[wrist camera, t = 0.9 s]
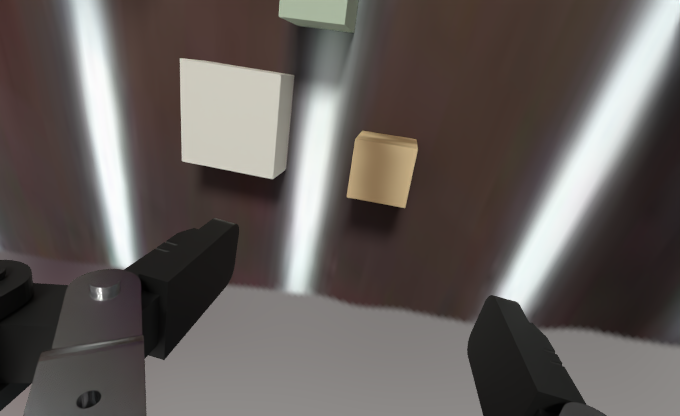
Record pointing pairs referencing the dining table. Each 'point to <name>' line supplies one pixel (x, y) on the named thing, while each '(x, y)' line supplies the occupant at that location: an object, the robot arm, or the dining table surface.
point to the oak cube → (382, 168)
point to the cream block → (235, 117)
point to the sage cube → (321, 13)
